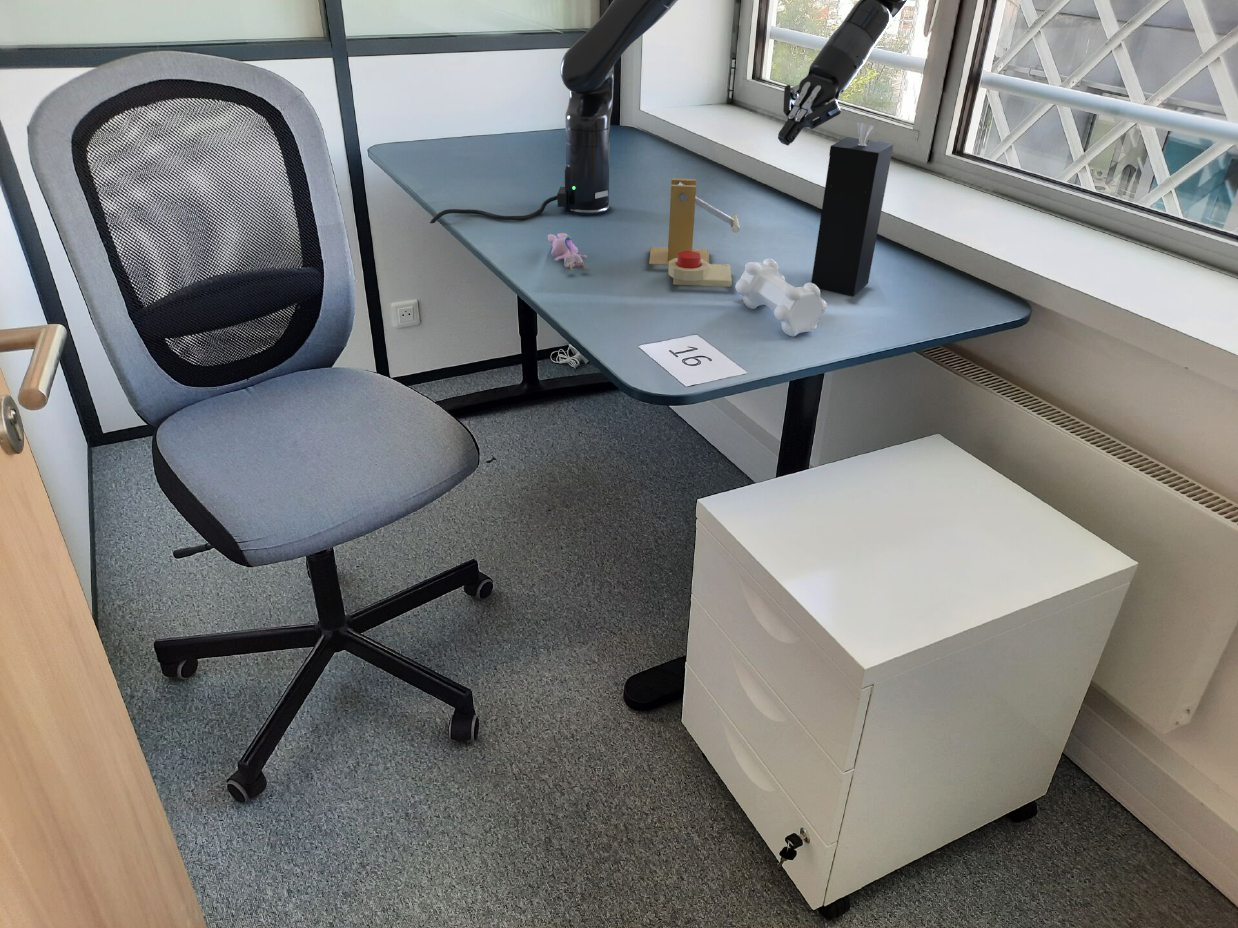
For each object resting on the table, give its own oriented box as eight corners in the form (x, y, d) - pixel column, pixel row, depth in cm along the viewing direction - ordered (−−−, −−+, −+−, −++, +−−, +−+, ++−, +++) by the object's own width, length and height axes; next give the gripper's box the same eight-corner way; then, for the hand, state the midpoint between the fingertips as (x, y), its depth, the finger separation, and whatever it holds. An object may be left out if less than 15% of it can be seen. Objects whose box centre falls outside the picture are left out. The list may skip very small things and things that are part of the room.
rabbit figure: (594, 280, 160) (569, 241, 170) (596, 250, 156) (570, 212, 166) (561, 283, 158) (538, 244, 168) (562, 253, 154) (538, 215, 164)
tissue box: (852, 302, 149) (882, 131, 134) (809, 292, 153) (833, 124, 138) (867, 288, 155) (898, 122, 140) (825, 279, 159) (850, 116, 143)
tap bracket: (707, 255, 168) (713, 177, 160) (709, 272, 160) (715, 190, 152) (650, 253, 168) (653, 175, 160) (648, 270, 161) (652, 188, 153)
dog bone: (826, 333, 139) (834, 284, 134) (780, 342, 136) (786, 292, 131) (774, 299, 150) (779, 253, 146) (730, 307, 147) (734, 260, 143)
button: (677, 269, 151) (677, 258, 150) (677, 261, 154) (677, 250, 153) (700, 270, 151) (701, 259, 150) (699, 262, 154) (700, 251, 153)
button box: (667, 292, 152) (668, 270, 150) (668, 273, 159) (669, 252, 157) (730, 294, 151) (733, 272, 149) (728, 276, 159) (730, 254, 157)
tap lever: (733, 226, 163) (740, 215, 162) (735, 236, 158) (742, 225, 157) (673, 190, 160) (680, 178, 159) (672, 199, 155) (679, 187, 154)
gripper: (806, 36, 156) (747, 119, 158) (862, 52, 148) (800, 140, 150) (822, 63, 162) (766, 143, 164) (877, 80, 153) (817, 165, 155)
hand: (782, 142), depth 157 cm, fingers closed
